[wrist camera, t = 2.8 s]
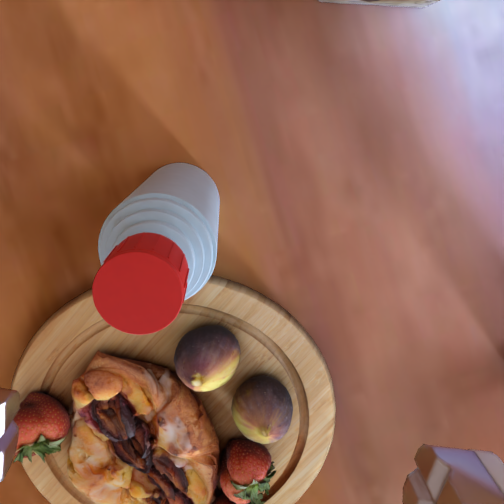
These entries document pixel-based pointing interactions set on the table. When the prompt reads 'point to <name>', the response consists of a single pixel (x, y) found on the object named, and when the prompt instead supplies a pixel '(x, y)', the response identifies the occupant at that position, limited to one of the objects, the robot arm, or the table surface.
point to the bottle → (171, 218)
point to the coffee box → (387, 2)
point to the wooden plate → (175, 405)
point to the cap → (141, 284)
